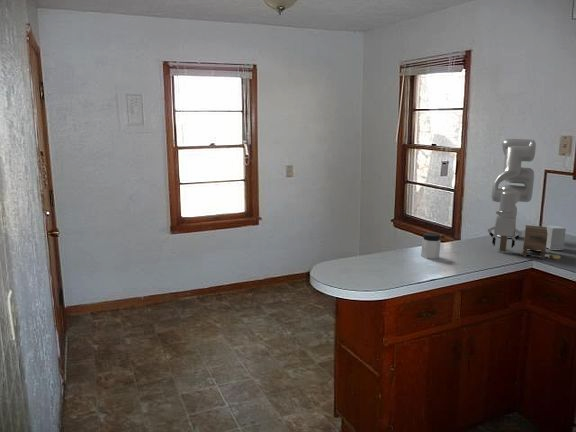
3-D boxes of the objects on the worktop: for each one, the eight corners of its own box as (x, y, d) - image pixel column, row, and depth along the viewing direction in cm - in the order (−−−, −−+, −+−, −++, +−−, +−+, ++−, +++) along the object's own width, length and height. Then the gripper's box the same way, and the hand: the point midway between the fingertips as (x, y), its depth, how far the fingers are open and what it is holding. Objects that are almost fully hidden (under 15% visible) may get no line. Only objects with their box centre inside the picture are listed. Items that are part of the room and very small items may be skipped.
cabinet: (523, 248, 270) (525, 225, 267) (543, 251, 265) (546, 227, 263) (522, 257, 253) (525, 231, 250) (544, 259, 249) (547, 234, 246)
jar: (418, 255, 254) (419, 232, 251) (431, 254, 256) (433, 231, 254) (428, 259, 245) (429, 236, 243) (442, 258, 248) (443, 235, 245)
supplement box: (563, 251, 267) (566, 228, 264) (549, 250, 267) (552, 228, 264) (556, 247, 274) (559, 225, 271) (543, 247, 274) (545, 225, 272)
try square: (498, 250, 267) (500, 232, 265) (549, 256, 256) (551, 237, 254) (498, 252, 262) (500, 234, 260) (549, 258, 252) (551, 240, 250)
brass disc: (548, 256, 256) (549, 253, 256) (559, 257, 254) (560, 255, 254) (549, 259, 252) (550, 256, 251) (560, 260, 250) (561, 257, 249)
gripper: (488, 214, 260) (485, 245, 263) (524, 217, 252) (520, 249, 256) (489, 211, 266) (486, 242, 270) (524, 215, 259) (520, 246, 262)
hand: (503, 246), depth 263 cm, fingers open, 8 cm apart
